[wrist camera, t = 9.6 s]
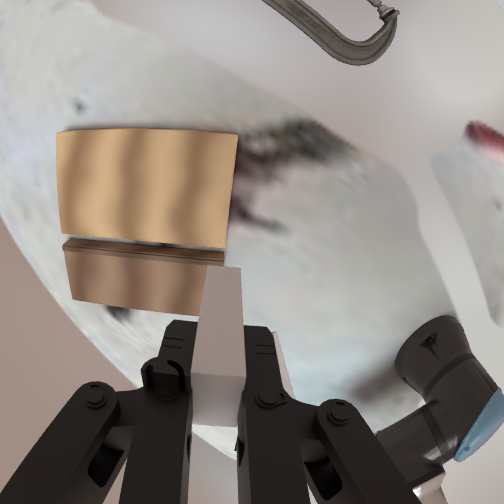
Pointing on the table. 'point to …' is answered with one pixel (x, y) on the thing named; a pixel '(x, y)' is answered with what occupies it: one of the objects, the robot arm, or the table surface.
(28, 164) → the table surface
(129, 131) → the oak plank
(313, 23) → the c clamp
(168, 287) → the walnut floor board
